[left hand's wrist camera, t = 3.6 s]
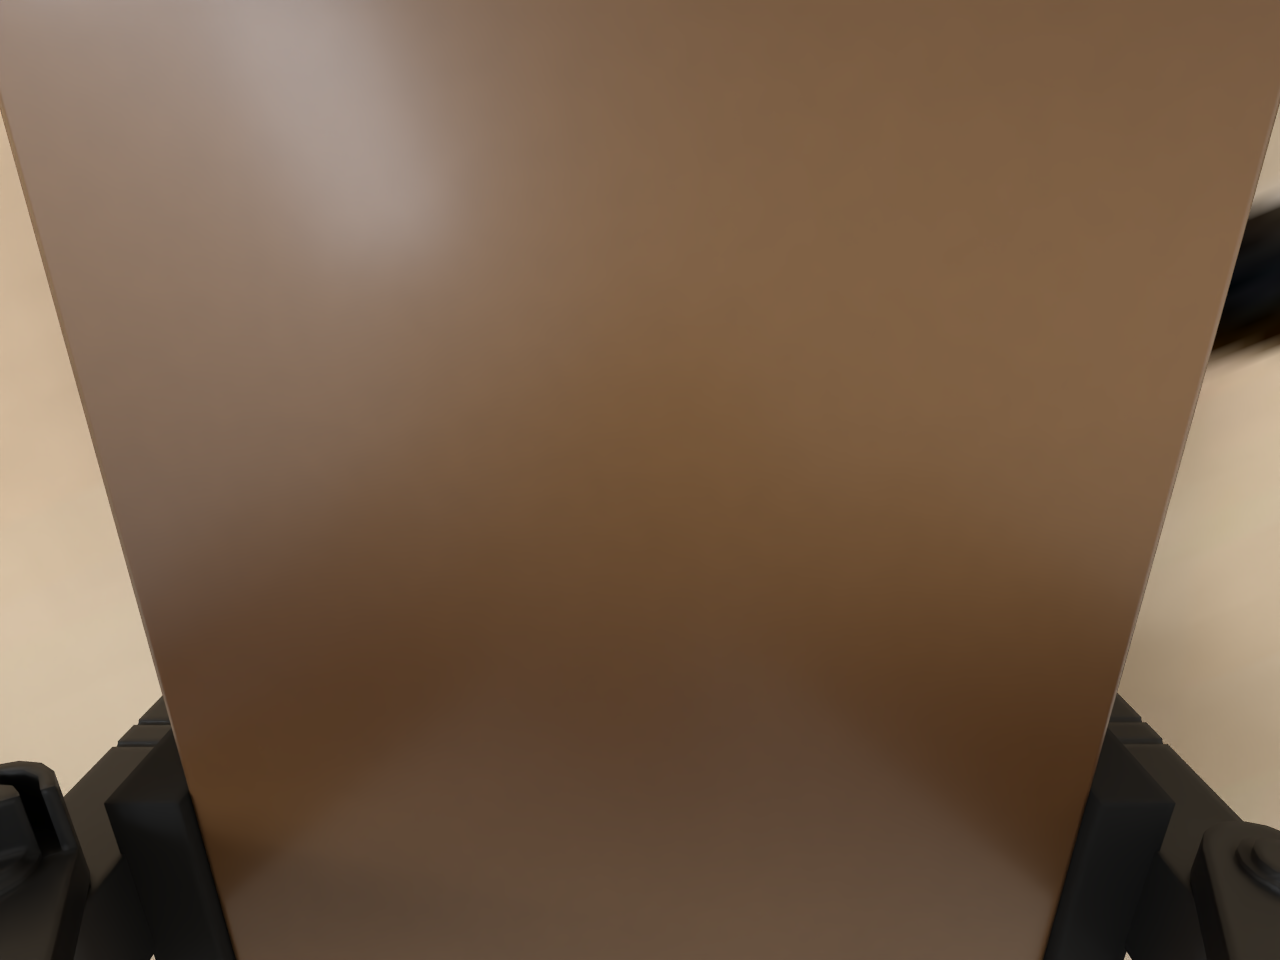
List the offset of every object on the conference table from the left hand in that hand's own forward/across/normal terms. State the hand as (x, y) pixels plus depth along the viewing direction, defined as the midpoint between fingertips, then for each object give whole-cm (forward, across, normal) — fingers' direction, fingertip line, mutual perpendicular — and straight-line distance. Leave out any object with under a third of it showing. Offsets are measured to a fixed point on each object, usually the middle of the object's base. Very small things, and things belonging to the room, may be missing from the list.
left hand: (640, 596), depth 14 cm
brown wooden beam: (+1, 0, -22) cm, 22 cm away
